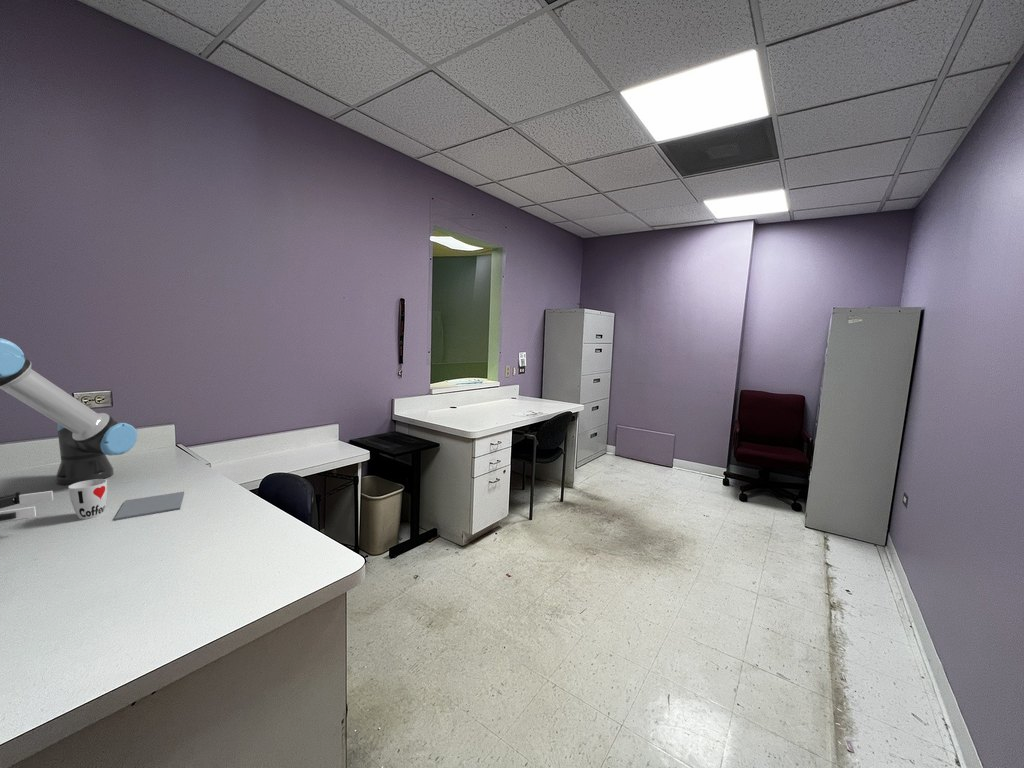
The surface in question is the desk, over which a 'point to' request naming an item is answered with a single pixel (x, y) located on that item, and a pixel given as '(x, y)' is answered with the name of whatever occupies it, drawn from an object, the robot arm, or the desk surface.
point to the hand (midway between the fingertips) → (44, 503)
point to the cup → (89, 498)
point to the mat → (150, 505)
